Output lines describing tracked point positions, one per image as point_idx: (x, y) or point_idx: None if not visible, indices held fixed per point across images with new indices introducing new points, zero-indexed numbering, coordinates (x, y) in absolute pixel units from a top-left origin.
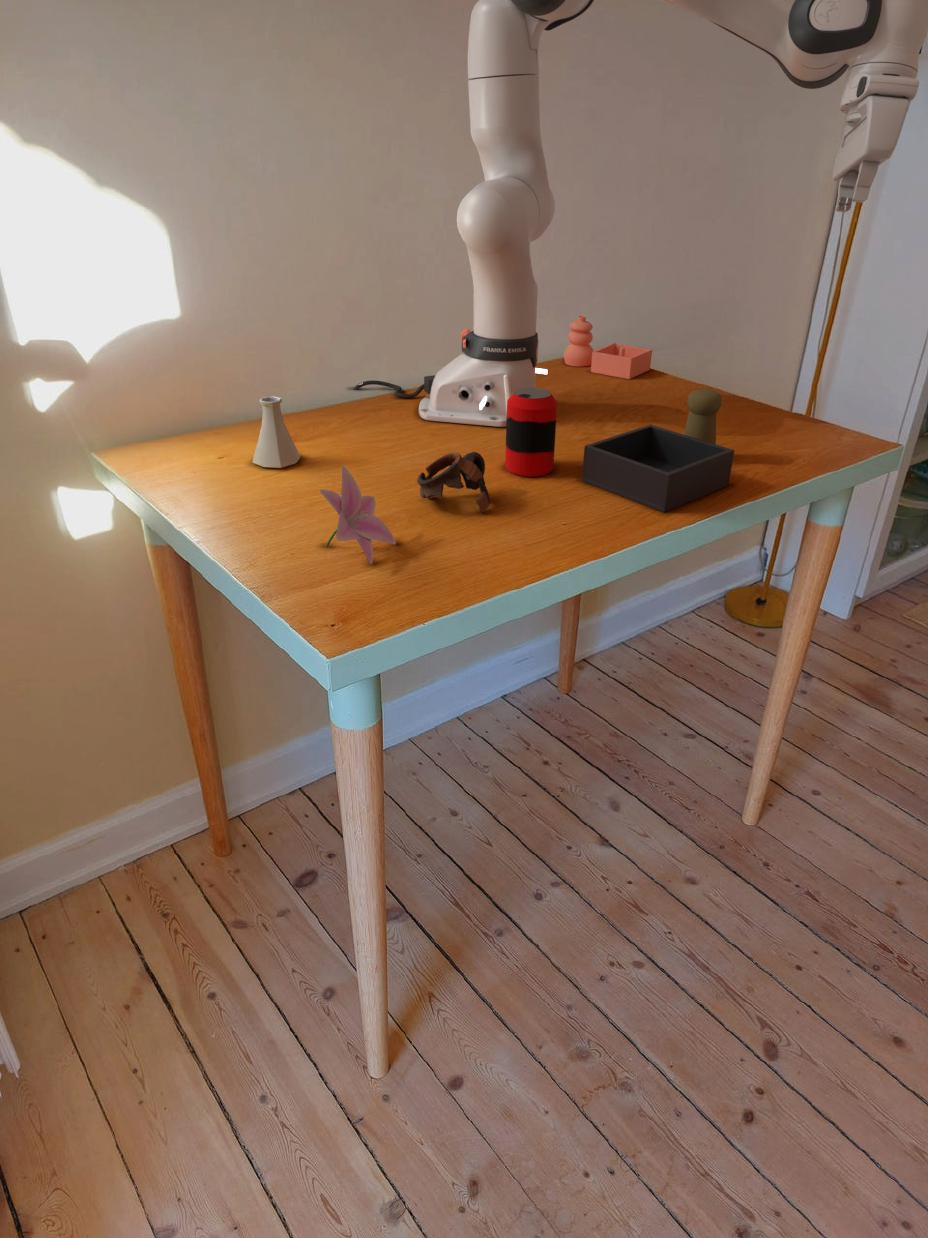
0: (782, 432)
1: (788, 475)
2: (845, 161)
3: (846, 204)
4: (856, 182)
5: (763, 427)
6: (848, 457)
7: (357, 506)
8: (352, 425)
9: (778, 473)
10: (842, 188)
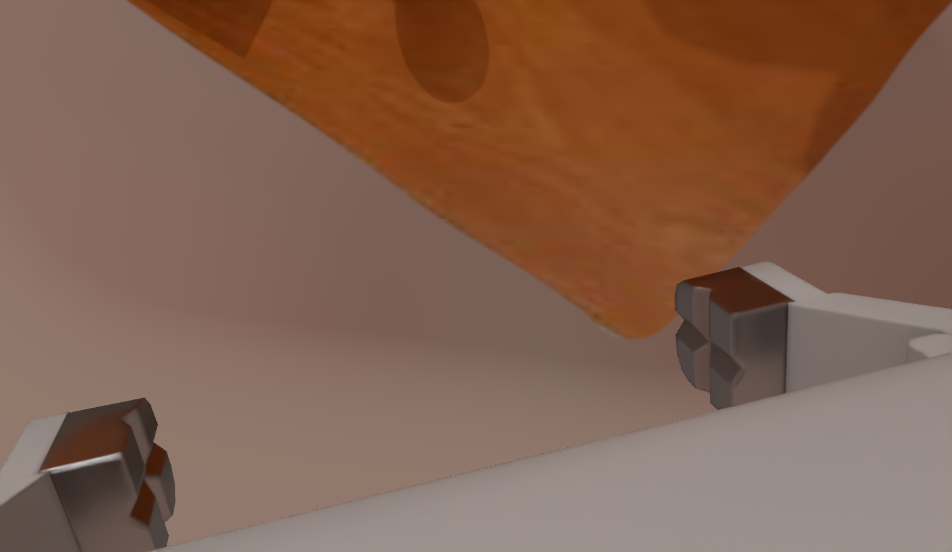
0: (689, 66)
1: (334, 87)
2: (683, 480)
3: (708, 355)
4: (9, 493)
5: (723, 8)
6: (524, 236)
7: None
8: None
9: (339, 61)
10: (897, 353)
